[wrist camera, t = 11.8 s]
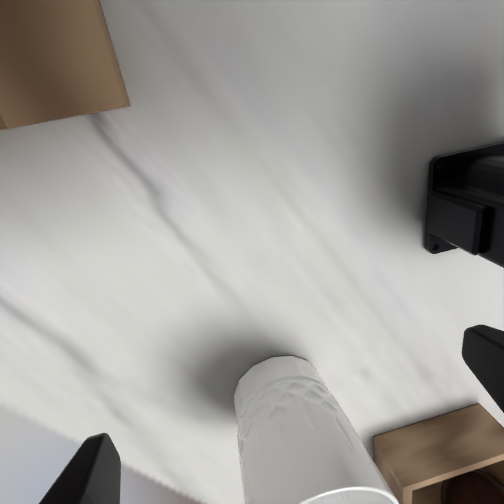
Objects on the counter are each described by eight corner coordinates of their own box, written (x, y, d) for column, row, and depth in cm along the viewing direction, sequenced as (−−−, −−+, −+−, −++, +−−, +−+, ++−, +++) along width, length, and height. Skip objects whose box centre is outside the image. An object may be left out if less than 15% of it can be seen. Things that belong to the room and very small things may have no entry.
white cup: (308, 330, 24) (385, 463, 15) (337, 400, 28) (413, 542, 19) (208, 377, 24) (225, 539, 15) (249, 441, 28) (283, 604, 19)
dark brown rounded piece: (420, 423, 31) (483, 509, 24) (471, 445, 34) (540, 528, 27) (364, 479, 33) (409, 573, 26) (417, 496, 36) (470, 585, 29)
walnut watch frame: (479, 403, 32) (523, 447, 27) (468, 474, 36) (504, 520, 32) (373, 436, 30) (403, 487, 26) (375, 505, 35) (401, 558, 31)
